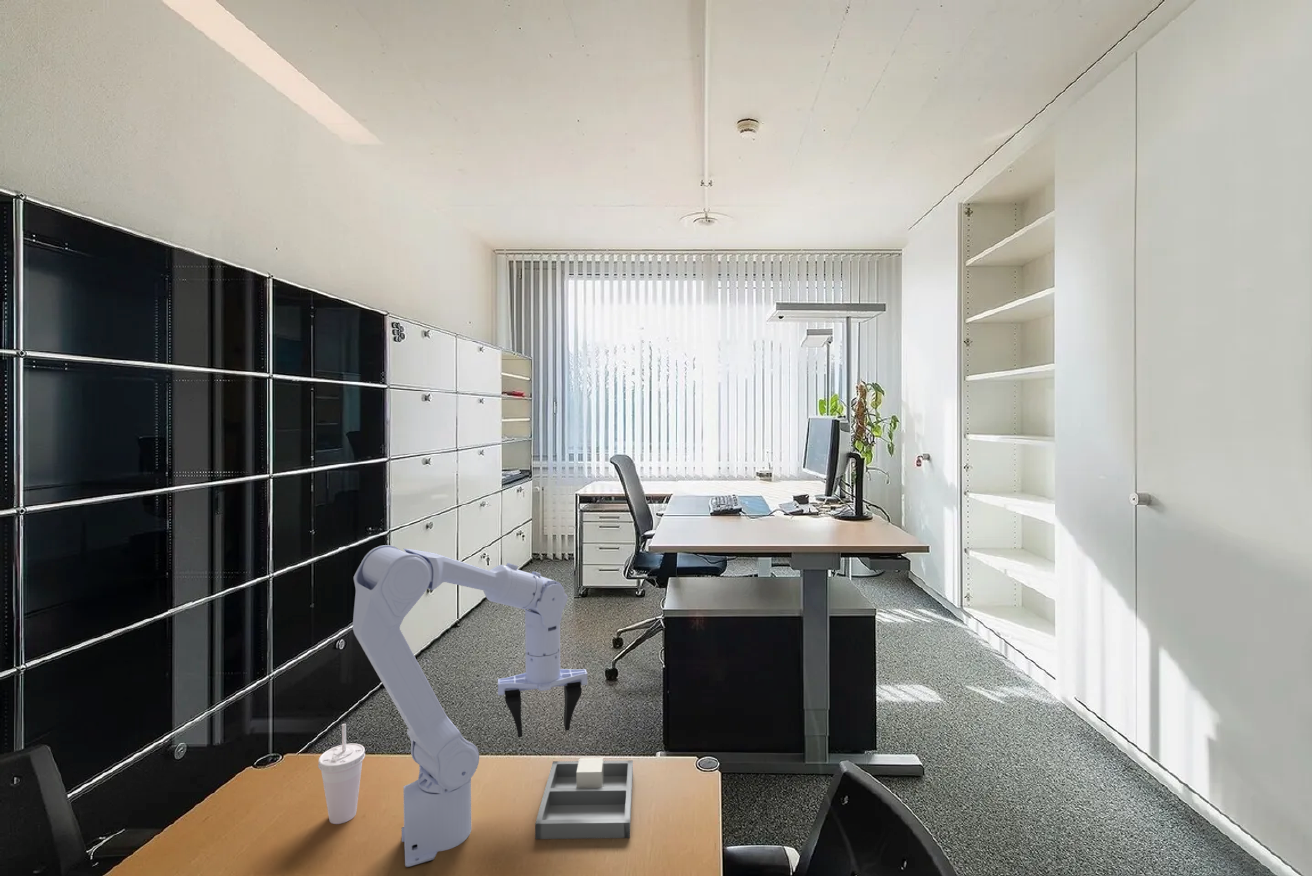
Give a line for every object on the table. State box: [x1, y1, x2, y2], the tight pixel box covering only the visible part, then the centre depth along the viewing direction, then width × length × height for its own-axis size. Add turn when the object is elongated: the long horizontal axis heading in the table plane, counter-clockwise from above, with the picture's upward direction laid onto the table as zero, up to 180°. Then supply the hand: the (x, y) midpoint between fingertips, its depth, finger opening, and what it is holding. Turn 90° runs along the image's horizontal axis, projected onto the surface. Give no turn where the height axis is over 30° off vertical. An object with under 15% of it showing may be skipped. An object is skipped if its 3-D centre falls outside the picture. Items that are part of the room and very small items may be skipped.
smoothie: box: [317, 723, 366, 825], centre depth 90 cm, size 6×6×14 cm
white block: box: [576, 757, 604, 788], centre depth 95 cm, size 4×4×4 cm
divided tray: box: [534, 760, 634, 840], centre depth 91 cm, size 14×16×3 cm
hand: (543, 731), depth 97 cm, fingers open, 7 cm apart
